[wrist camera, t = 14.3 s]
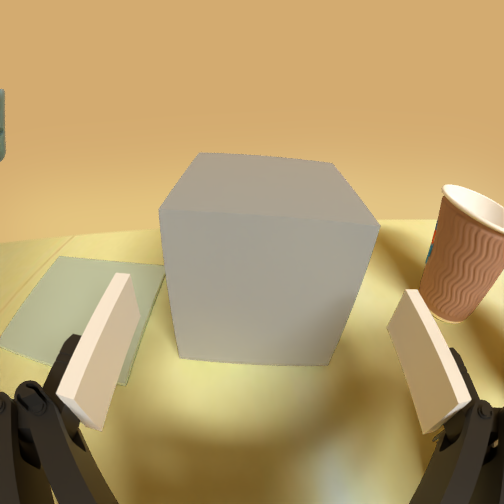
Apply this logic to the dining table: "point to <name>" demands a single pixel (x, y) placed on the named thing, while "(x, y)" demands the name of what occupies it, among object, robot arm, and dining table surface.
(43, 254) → the dining table surface
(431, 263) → the coffee cup
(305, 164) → the cover
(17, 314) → the mat
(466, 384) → the robot arm
